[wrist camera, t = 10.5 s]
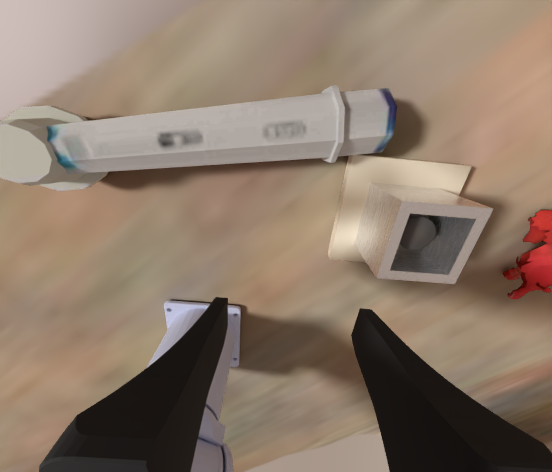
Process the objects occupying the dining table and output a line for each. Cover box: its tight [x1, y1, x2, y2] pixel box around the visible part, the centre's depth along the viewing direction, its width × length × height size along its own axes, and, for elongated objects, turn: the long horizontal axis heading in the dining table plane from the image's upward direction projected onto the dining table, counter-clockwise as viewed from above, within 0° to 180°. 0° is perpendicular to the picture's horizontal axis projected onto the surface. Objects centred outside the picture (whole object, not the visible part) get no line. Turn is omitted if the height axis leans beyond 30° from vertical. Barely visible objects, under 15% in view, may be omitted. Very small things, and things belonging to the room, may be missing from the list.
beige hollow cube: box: [354, 183, 493, 284], centre depth 16 cm, size 5×5×5 cm
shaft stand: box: [328, 154, 472, 262], centre depth 18 cm, size 9×9×4 cm
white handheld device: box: [0, 85, 397, 191], centre depth 15 cm, size 5×7×25 cm
